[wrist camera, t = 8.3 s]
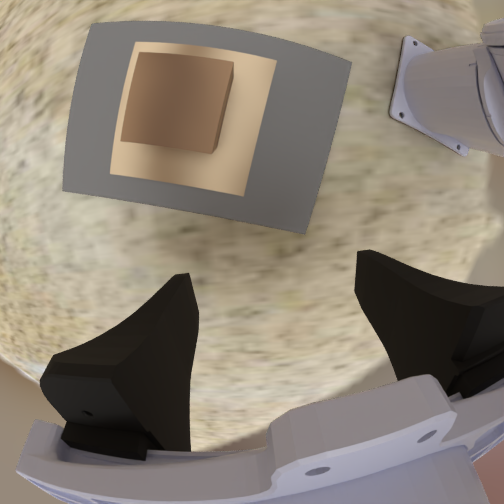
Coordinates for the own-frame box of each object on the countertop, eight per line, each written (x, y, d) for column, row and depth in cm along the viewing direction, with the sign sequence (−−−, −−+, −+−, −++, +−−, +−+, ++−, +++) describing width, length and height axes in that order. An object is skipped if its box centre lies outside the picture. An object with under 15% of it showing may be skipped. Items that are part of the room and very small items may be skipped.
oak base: (271, 68, 16) (277, 60, 14) (242, 187, 20) (243, 196, 18) (146, 50, 15) (135, 41, 13) (123, 167, 19) (109, 173, 16)
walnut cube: (233, 77, 15) (233, 61, 10) (217, 147, 16) (211, 154, 12) (161, 68, 14) (139, 51, 10) (146, 136, 16) (120, 141, 12)
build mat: (350, 63, 17) (352, 62, 16) (303, 232, 22) (305, 234, 22) (93, 25, 14) (91, 23, 13) (64, 189, 19) (62, 191, 19)
